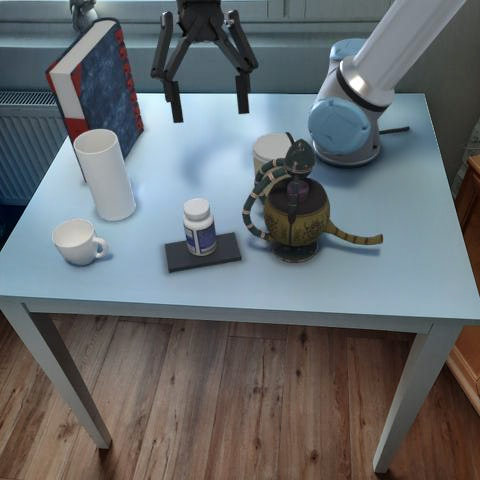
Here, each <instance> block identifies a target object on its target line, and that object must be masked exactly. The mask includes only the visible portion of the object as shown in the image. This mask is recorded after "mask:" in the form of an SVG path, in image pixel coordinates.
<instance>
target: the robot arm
mask: <svg viewBox="0 0 480 480" xmlns="http://www.w3.org/2000/svg"><path fill="white" fill-rule="evenodd" d="M466 2H467V0H394V1H393V3H392V4H391V6H390V7H389V9H388V10H387V11H386V13H385V14H384V16H382V18H381V20H380V21H379V23H377V25H376V27H375V29H374V30H373V31H372V33H370V36H369V37H368V38H361V37H360V38H357V37H355V38H345V39H341V40H339V41H337V42H335V43H334V44H333V45H332V47H331V50H330V55H329V67H328V71H327V75H326V77H325V79H324V80H323V81H324V82H323V83H322V85H321V88H319V89H320V90H319V91H318V94H317V96H316V98H315V101H314V102H313V104H312V105H311V107H310V109H309V112H308V118H307V128H308V133H309V135H310V138H311V140H313V145H312V150H313V152H314V155H315V157H317V159H319V160H320V161H321V162H323V163H325V164H327V165H329V166H333V167H336V168H344V169H354V168H360V167H364V166H367V165H369V164H371V163H372V162H374V161H375V160H376V159H377V157H378V156H379V153H380V149H381V136H383V135H389V134H398V133H399V134H400V133H404V132H408V131H410V129H411V127H410V126H404V127H397V128H387V129H383V130H382V129H381V130H380V129H379V122H378V121H379V119H380V118H381V116H382V115H383V114H385V112H386V111H387V110H388V108H389V107H390V106H391V105H392V104H393V102H394V101H395V98H396V95H395V93H396V92H395V87H396V85H398V83H399V82H400V81H401V79H402V78H403V77H404V76H405V75H406V74H407V72H409V70H410V69H411V68H412V66H413V65H414V64H415V63H416V62H417V61H418V59H419V58H420V57H421V56H422V55H423V54H424V52H425V51H426V50H427V48H428V47H430V45H431V44H432V42H433V41H434V40H435V39H436V38H437V36H438V35H439V34H440V33H441V32H442V31H443V30H444V28H445V27H446V26H447V24H448V23H449V22H451V20H452V18H453V17H454V16H455V15H456V13H457V12H458V11H460V9H461V8H462V7H463V5H464V4H465V3H466ZM175 5H176V8H177V13H173V12H171V11H170V10H167V11H166V12H164V13H162V14H160V16H159V20H160V21H159V22H160V23H159V24H160V32H159V34H158V35H159V36H158V39H157V45H156V47H155V51H154V57H153V60H152V64H151V70H150V74H149V76H150V78H151V79H155V80H158V81H159V82H160V83H162V87H163V94H164V100H165V102H166V103H167V104H169V103H170V110H171V115H172V123H173V124H182V123H185V122H184V116H183V115H184V114H183V108H182V99H181V94H180V87H179V85H180V84H179V80H173V79H174V78H175V75H176V74H177V72H178V70H179V67H180V66H181V64H182V62H183V60H184V59H185V56H186V54H187V52H188V50H189V48H190V47H191V45H192V44H193V45H198V44H200V43H203V44H210V43H213V44H214V45H215V46H216V47H218V49H219V50H220V52H222V54H223V55H224V56H225V57H226V59H227V60H228V62H229V63H230V64H231V65H232V66H233V68H234V69H235V71H236V72H237V73H238V75H234V80H235V91H236V102H237V111H238V112H237V113H238V115H247V114H249V115H250V104H249V94H251V92H252V87H251V74H252V73H253V71H254V70H256V69H258V68H259V62H258V59H257V57H256V55H255V53H254V51H253V49H252V46H251V44H250V42H249V40H248V37H247V36H246V34H245V31H244V29H243V27H242V25H241V20H240V13H239V11H238V10H237V9H233V10H230V11H228V12H223V10H222V0H175ZM223 25H224V26H226V27H227V29H228V32H229V34H230V37H231V39H232V41H233V43H234V44H233V43H232V41H231V40H230V39H229V35H228V34H227V33H226V31H225V30H224V28H223ZM177 26H178V27H179V28H180V29H181V31H182V32H181V33H180V36H179V38H178V40H177V43H176V45H175V48H174V50H173V51H172V54H171V56H170V58H169V59H168V58H167V57H168V54H169V50H170V46H171V43H172V37H173V34H174V33H173V32H174V29H175V28H176V27H177ZM234 45H235V46H234ZM167 59H168V62H167V63H166V61H167Z"/></svg>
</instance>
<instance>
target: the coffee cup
mask: <svg viewBox="0 0 480 480" xmlns="http://www.w3.org/2000/svg"><path fill="white" fill-rule="evenodd" d="M293 139H294V142H295V141H297V140H296V138H294V137H293ZM290 146H291V142H290V140H289V138H288V136H287V135H286V133H281V132H272V133H266V134H263V135H261V136H260V137H258V138H257V139H256V140H255V141H254V143H253V145H252V148H251V153H252V156H253V157H252V158H253V171H254V177H255V176H256V174H257V172H258V170H259V169H260V168H261V167H262V166H263V165H264V164H265V163H267V162H269V161H271V160H273V159H277V158H285V157H286V154H287V151H288V150H289V148H290ZM282 167H283V166H279V167H274V168H272V169H270V170H269V171H268V172H267V173H266V174H265V175H264V177H263V178H262V180H263V179H264V178H265V177H266V176H267V175H269V174H270V173H272V172H273V171H275V170H277V169H279V168H282ZM287 177H291V176H290V175H287V174H286V175H284V176H281V177H279V178H277V179H276V180H274V181H273V182H271V183H270V184H269V185H268V186H267V187H266V188H265V189H263V191H264V193H265V195H266V196H267V195H268V193H269V192H270V190H271V188H272V187H273V185H274V184H275V183H277V182H278V181H279V180H282V179H284V178H287ZM257 200H258V201H259V202H260V203H261V204H263V203H262V202H261V200H260V199H259V197H257Z"/></svg>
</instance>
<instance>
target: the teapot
mask: <svg viewBox="0 0 480 480" xmlns="http://www.w3.org/2000/svg"><path fill="white" fill-rule="evenodd" d="M284 134H286V135H287V136H288V138H289V140H290V142H291V146H290V148H289V150H288V151H287V154H286V157H285V158H277V159H273V160H271V161H269V162H267V163H265V164H264V165H263V166H262V167H261V168H260V169H259V170H258V172H257V174H256V176H255V175H254V181H253V183H254V184H253V185H254V187H253V189H252V190H251V192H250V193H249V195H248V196H247V198H246V200H245V202H244V203H243V207H242V213H241V217H242V220H243V223H244V225H245V227H246V228H247V231H249V232H250V234H252V235H253V236H254V237H256V238H259V239H261V240H264V241H267V242H270V249H271V252H272V254H273V255H274V256H275V258H277V259H278V260H279V261H282V262H284V263H289V264H301V263H306V262H308V261H309V260H311V259H312V258H314V257H315V256H316V254H317V252H318V250H319V249H318V248H319V246H318V245H319V243H318V241H317V239H318V238H320V237H321V235H323V234H325V233H326V234H330V235H333V236H335V237H337V238H338V239H341V240H343V241H346V242H348V243H351V244H353V245H360V246H375V245H381V244H384V235H383V233H379V234H377V235H374V236H360V235H355V234H351V233H348V232H345V231H344V230H342V229H340V228H339V227H337V226H336V225H335V223H333V221H332V220H331V219H330V218H331V204H330V199H329V197H328V193H327V191H326V189H325V187H324V185H323V184H322V183H320V182H319V181H318V180H315V179H313V178H312V177H309V175H310V174H311V173H312V172H313V170H314V168H315V167H316V162H317V161H316V160H317V159H316V155H315V153H314V151H313V146H311V145H310V143H309V142H308V141H307V140H305V139H303V138H299V139H297V140H296V141H295V142H294V139H295V138H294V137H293V135H292V133H290V132H289V131H285V133H284ZM293 138H294V139H293ZM279 166H283V167H282V168H279V169H277V170H275V171H273V172H272V173H270V174H269V175H267V176H266V177H265V178H264V179H263V180H262V178H263V177H264V175H265V174H266V173H267V172H268V171H269V170H270V169H272V168H274V167H279ZM286 174H287V175H290V176H291V177H287V178H284V179H282V180H279V181H278V182H277V183H275V184H274V185H273V187H272V188H271V190H270V192H269V193H268V195H267V196H266V195H265V193H264V191H263V189H265V188H266V187H267V186H268V185H269V184H270V183H271V182H273V181H274V180H276V179H277V178H279V177H281V176H284V175H286ZM257 197H259V199H260V200H261V202H262V203H261V202H260V203H261V204H263V214H262V216H263V221H264V225H265V228H266V230H267V232H266V231H264V230H261V229H259V228H257V226H256V225H255V224H254V223H253V221H252V218H251V211H252V208H253V206H254V203H255V202H256V200H258V198H257Z"/></svg>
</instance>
